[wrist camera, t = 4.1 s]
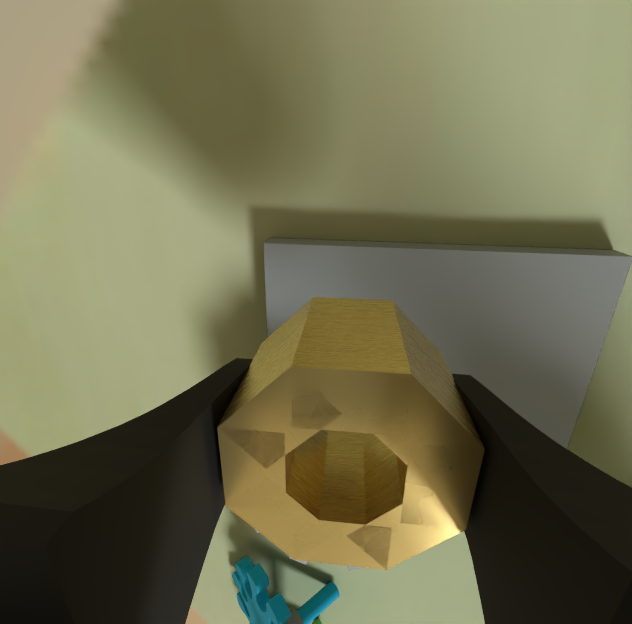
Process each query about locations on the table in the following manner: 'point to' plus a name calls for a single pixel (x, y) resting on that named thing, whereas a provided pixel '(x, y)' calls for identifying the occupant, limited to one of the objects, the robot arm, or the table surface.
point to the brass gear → (350, 438)
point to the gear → (275, 598)
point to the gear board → (473, 310)
